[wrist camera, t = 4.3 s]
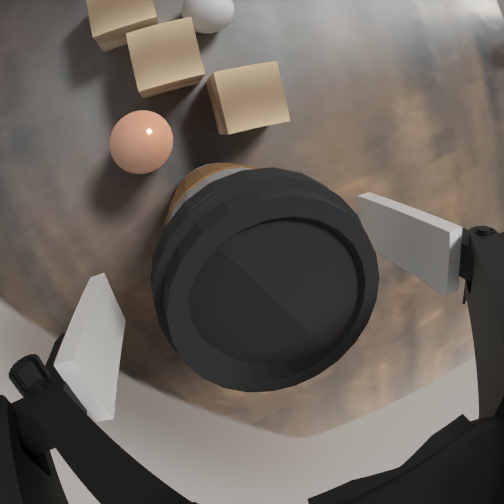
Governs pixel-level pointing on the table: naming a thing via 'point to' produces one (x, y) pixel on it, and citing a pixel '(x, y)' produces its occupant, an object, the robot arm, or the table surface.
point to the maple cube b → (165, 57)
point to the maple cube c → (247, 97)
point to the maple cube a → (118, 20)
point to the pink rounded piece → (141, 142)
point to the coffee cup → (261, 276)
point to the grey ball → (208, 14)
